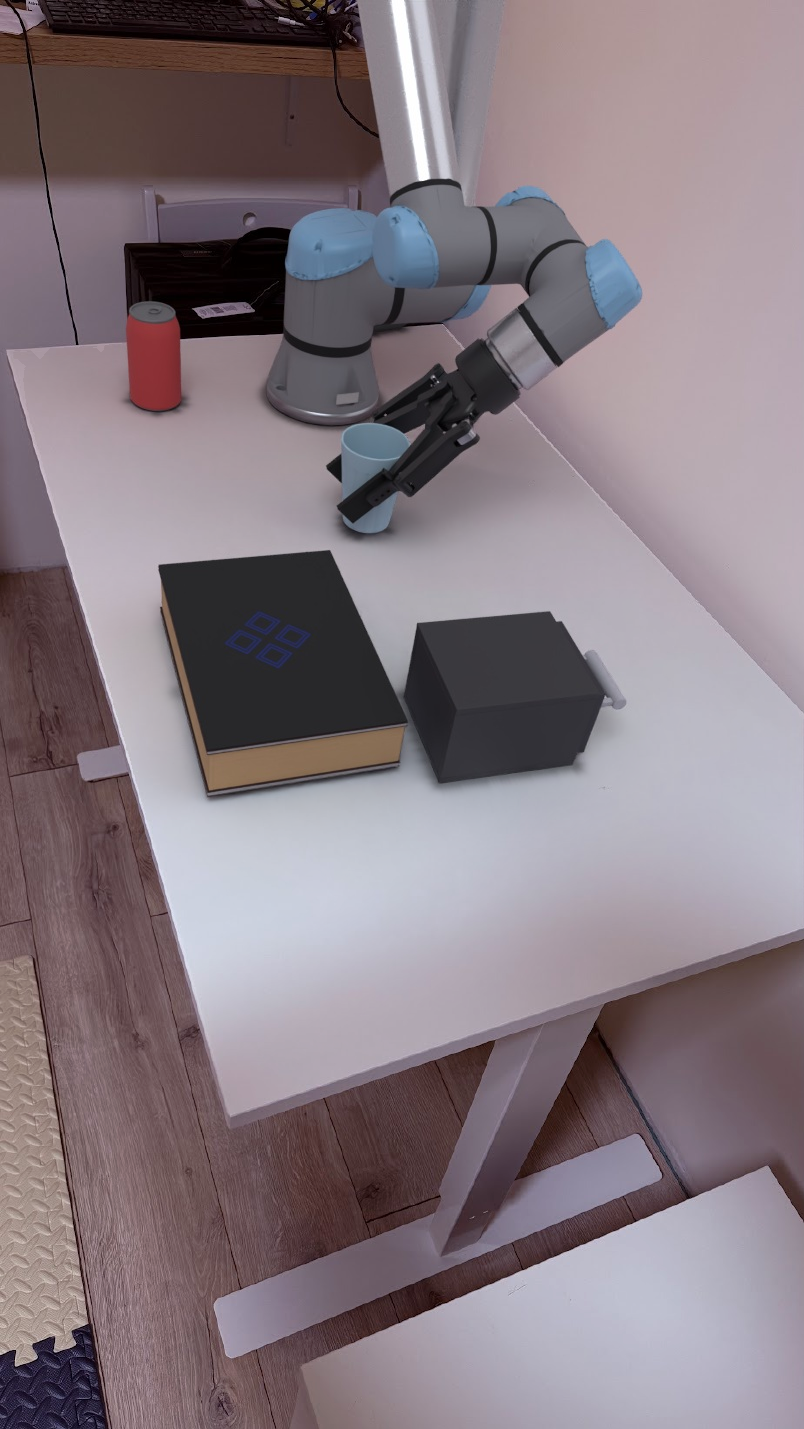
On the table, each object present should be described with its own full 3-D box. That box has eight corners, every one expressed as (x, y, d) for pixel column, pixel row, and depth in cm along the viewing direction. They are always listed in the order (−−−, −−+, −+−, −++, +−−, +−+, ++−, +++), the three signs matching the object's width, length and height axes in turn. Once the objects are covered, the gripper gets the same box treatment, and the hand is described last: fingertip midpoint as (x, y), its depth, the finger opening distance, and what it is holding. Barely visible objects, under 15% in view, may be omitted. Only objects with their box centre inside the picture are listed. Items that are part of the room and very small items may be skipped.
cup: (409, 534, 117) (422, 455, 110) (347, 543, 114) (356, 463, 107) (383, 498, 122) (394, 419, 115) (324, 506, 119) (331, 426, 112)
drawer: (578, 675, 103) (598, 617, 98) (620, 747, 97) (644, 689, 91) (427, 692, 98) (440, 631, 93) (461, 769, 92) (476, 708, 86)
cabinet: (528, 682, 103) (550, 610, 96) (572, 765, 95) (599, 693, 89) (403, 696, 99) (416, 622, 92) (439, 783, 91) (456, 709, 85)
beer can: (190, 397, 134) (189, 308, 126) (166, 418, 130) (163, 327, 121) (146, 383, 135) (141, 294, 127) (120, 404, 131) (114, 313, 122)
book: (325, 600, 108) (330, 549, 103) (398, 772, 92) (408, 720, 87) (160, 617, 102) (157, 564, 98) (207, 803, 86) (207, 749, 82)
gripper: (549, 437, 103) (375, 567, 111) (497, 344, 117) (345, 465, 124) (510, 388, 98) (331, 527, 106) (461, 296, 112) (305, 426, 119)
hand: (339, 494), depth 115 cm, fingers closed on cup, 7 cm apart
